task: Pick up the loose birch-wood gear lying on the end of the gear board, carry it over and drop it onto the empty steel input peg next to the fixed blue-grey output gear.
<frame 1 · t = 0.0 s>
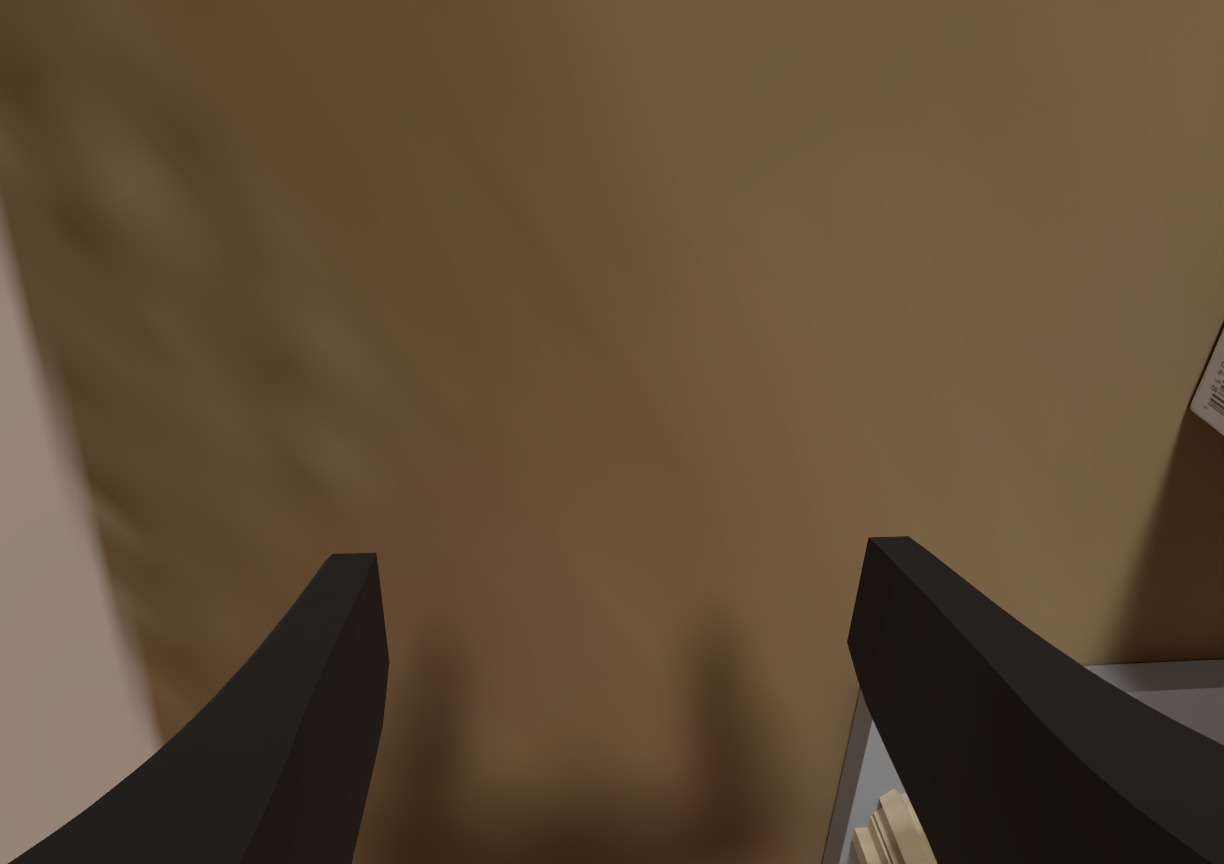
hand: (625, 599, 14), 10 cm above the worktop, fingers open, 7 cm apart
loose gear: (932, 828, 31), point 1 cm above the worktop, touching gear board
gear board: (1134, 786, 33), on the worktop
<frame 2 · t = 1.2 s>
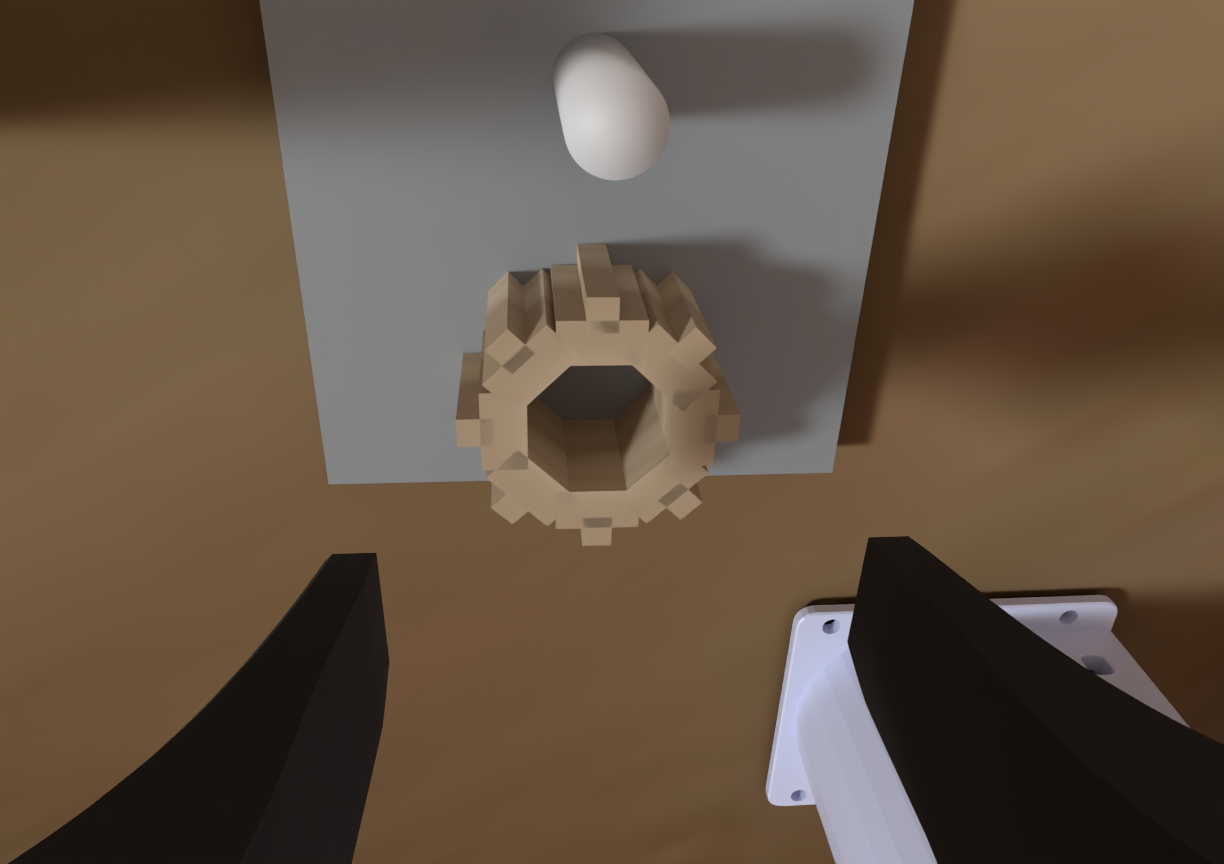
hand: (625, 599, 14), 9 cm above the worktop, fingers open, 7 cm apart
loose gear: (589, 364, 21), point 1 cm above the worktop, touching gear board
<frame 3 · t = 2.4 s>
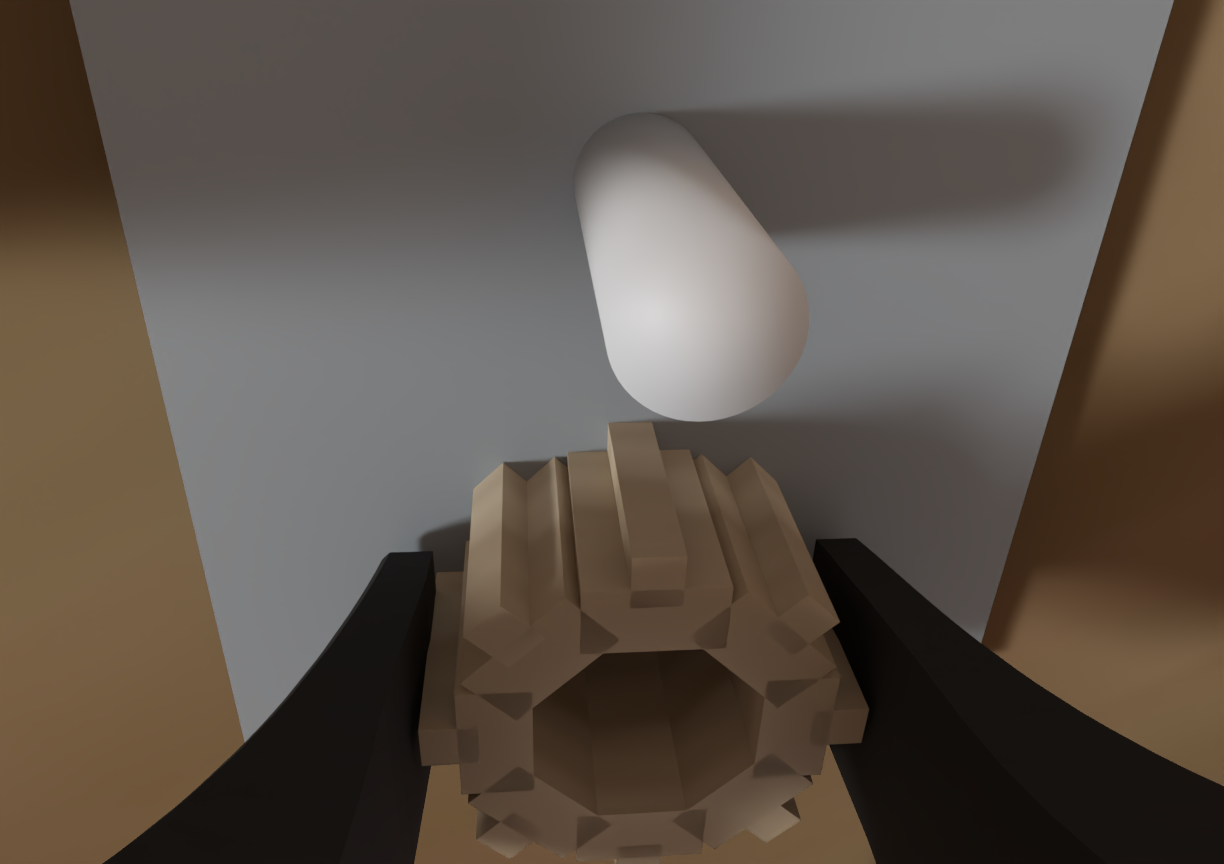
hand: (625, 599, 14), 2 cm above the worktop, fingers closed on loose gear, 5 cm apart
loose gear: (622, 581, 14), point 1 cm above the worktop, touching gear board, gripper
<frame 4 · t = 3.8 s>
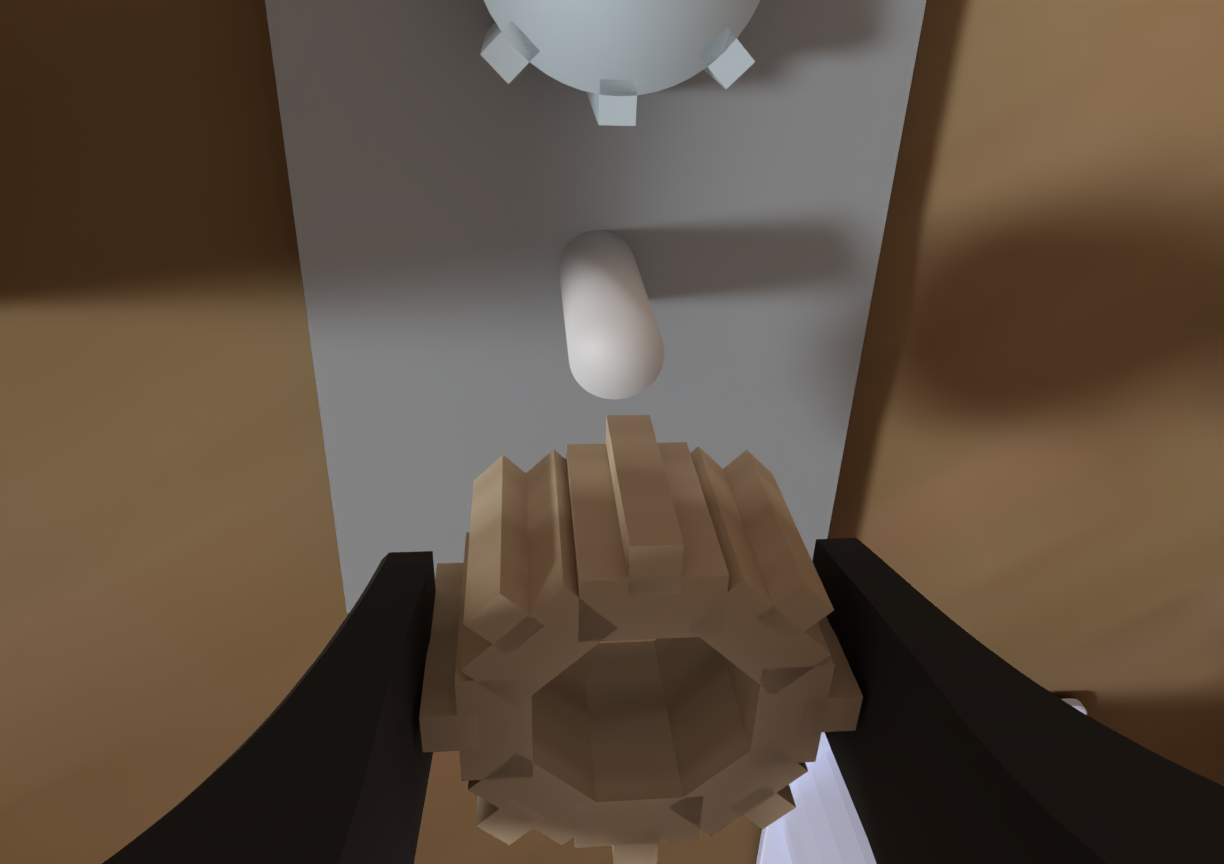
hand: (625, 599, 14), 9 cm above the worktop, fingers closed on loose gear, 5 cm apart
loose gear: (621, 573, 14), point 8 cm above the worktop, touching gripper
gear board: (595, 156, 19), on the worktop
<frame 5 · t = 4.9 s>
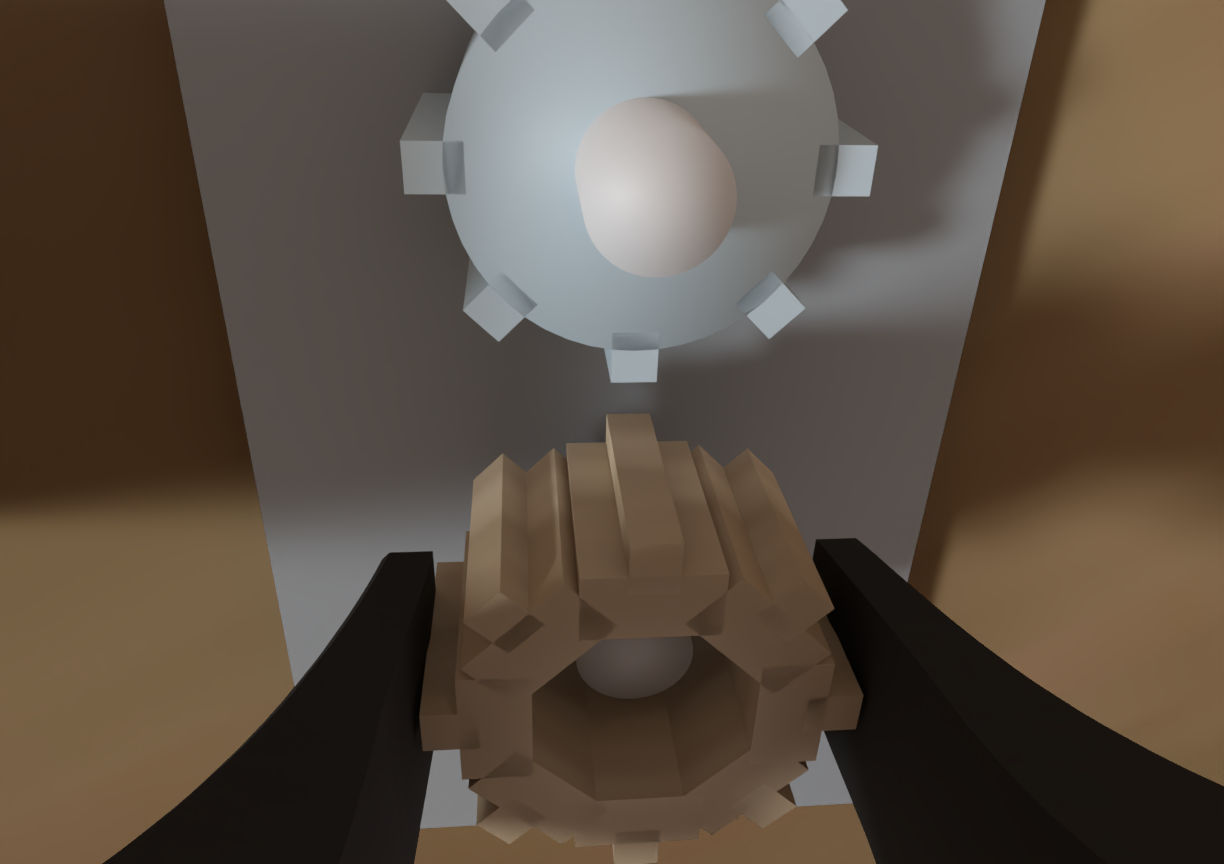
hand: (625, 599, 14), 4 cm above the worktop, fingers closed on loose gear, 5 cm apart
loose gear: (621, 572, 14), point 4 cm above the worktop, touching gripper
gear board: (604, 349, 16), on the worktop
when the fingers open (4 cm above the worktop, at t = 5.4 s): loose gear drops 3 cm, resting on gear board.
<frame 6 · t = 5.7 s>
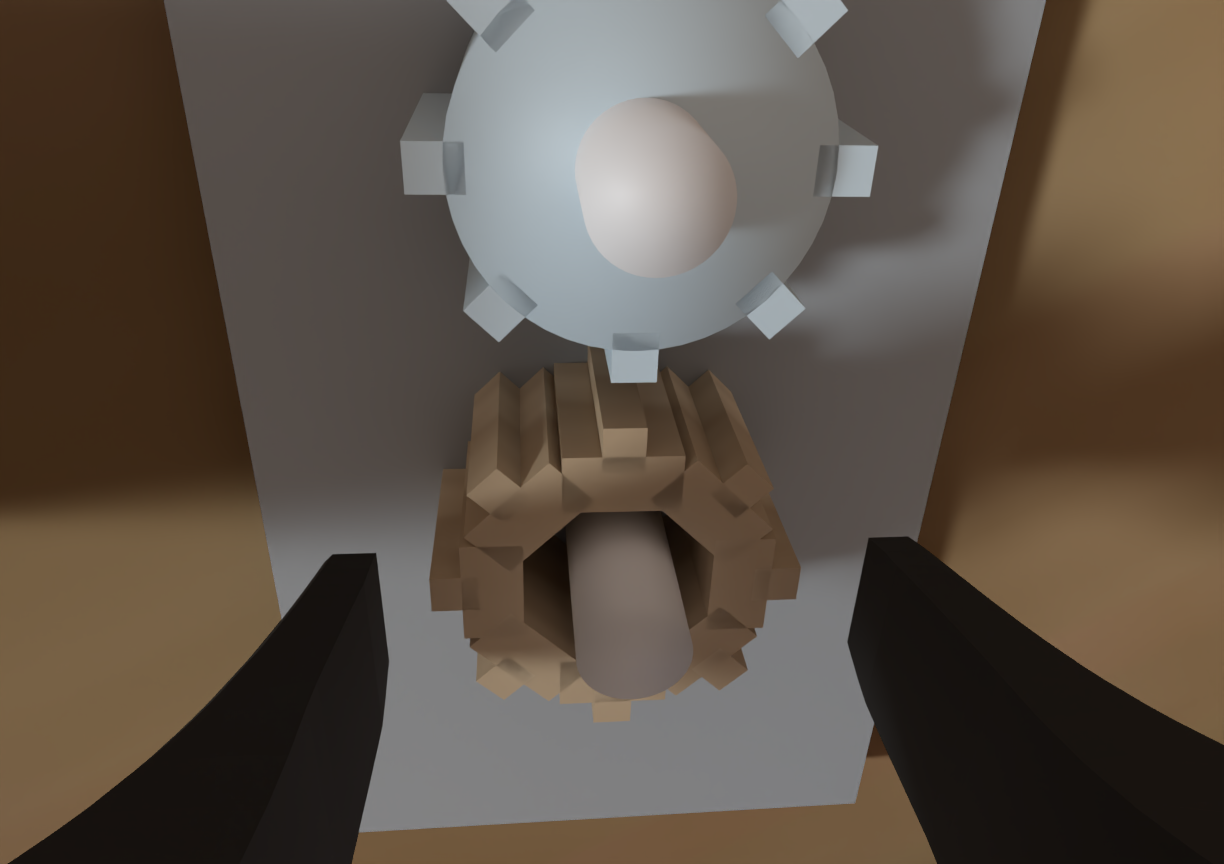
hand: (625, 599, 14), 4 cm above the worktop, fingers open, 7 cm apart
loose gear: (601, 480, 16), point 1 cm above the worktop, touching gear board
gear board: (604, 349, 16), on the worktop
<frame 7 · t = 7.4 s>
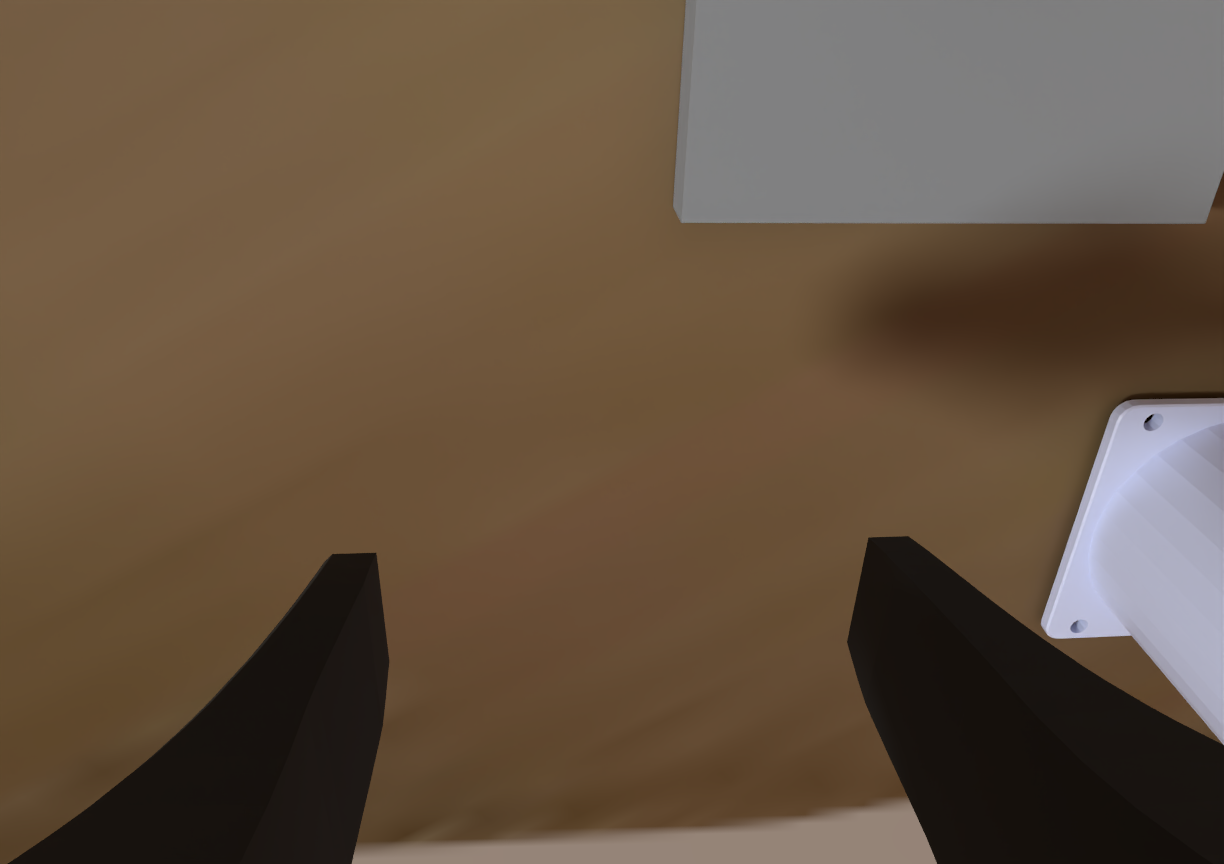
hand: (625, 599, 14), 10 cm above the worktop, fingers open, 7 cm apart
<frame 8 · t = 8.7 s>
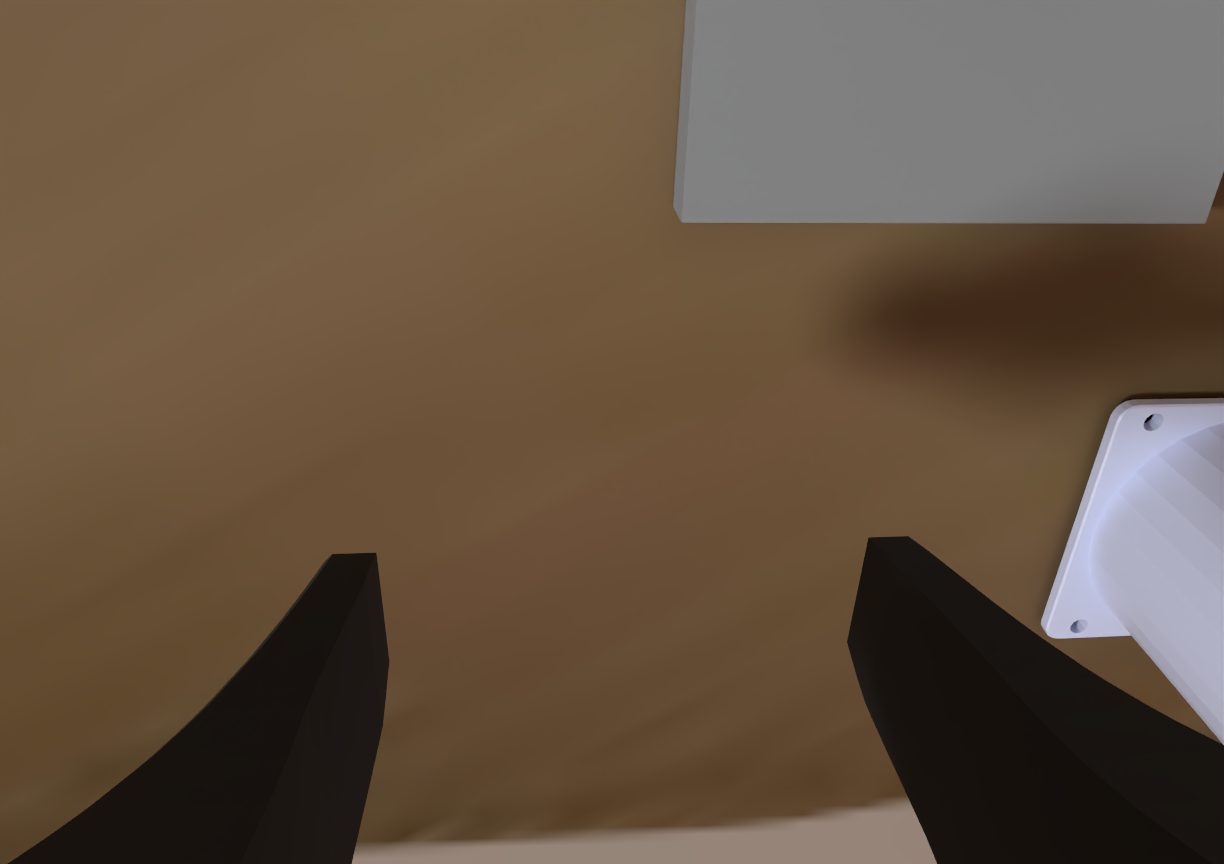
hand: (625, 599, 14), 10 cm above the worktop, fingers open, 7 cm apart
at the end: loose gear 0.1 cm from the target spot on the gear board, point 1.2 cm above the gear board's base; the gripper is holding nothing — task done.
